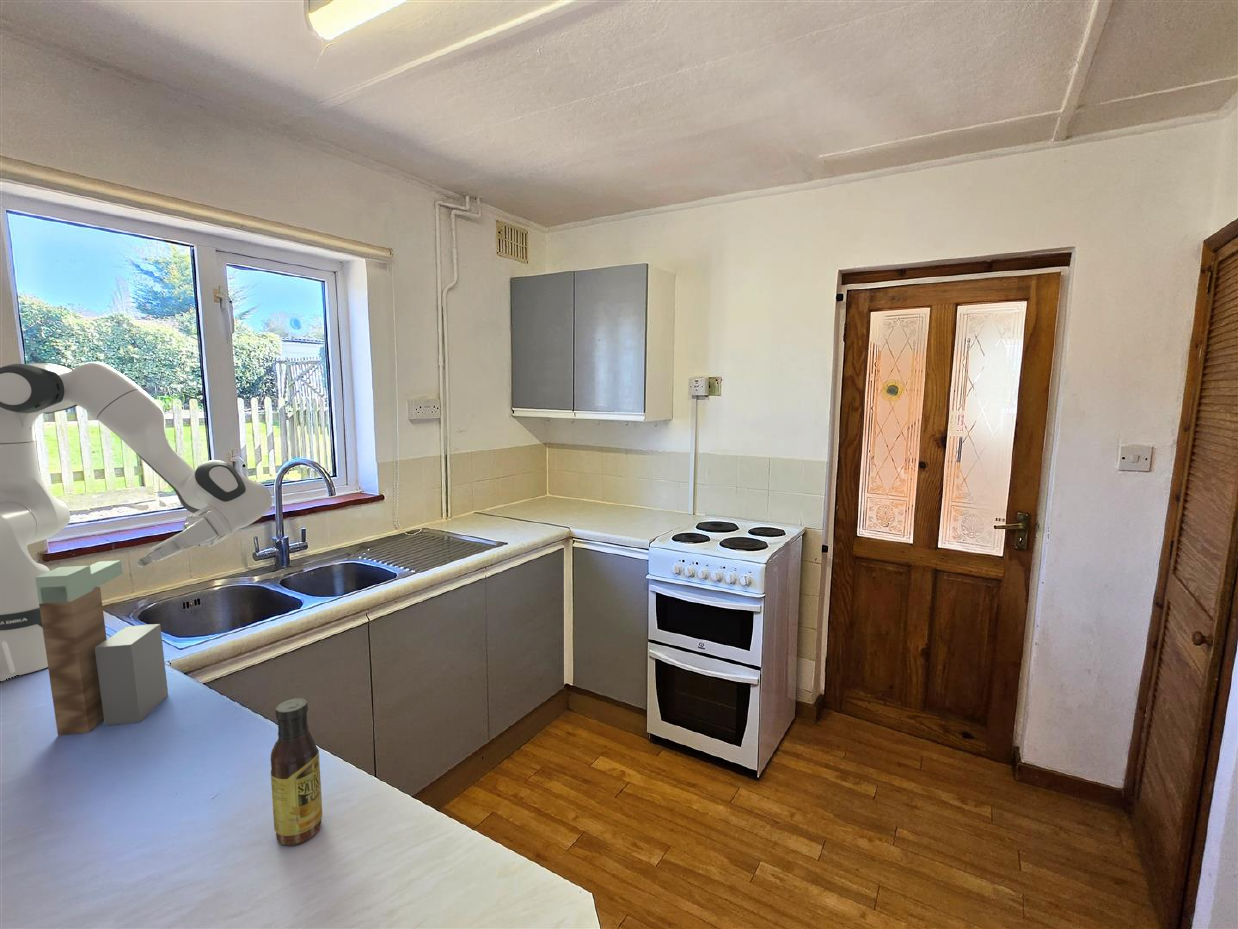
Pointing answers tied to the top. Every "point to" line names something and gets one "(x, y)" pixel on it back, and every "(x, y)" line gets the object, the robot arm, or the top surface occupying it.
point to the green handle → (75, 581)
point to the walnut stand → (74, 660)
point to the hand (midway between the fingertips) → (144, 561)
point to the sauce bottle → (295, 776)
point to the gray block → (131, 673)
